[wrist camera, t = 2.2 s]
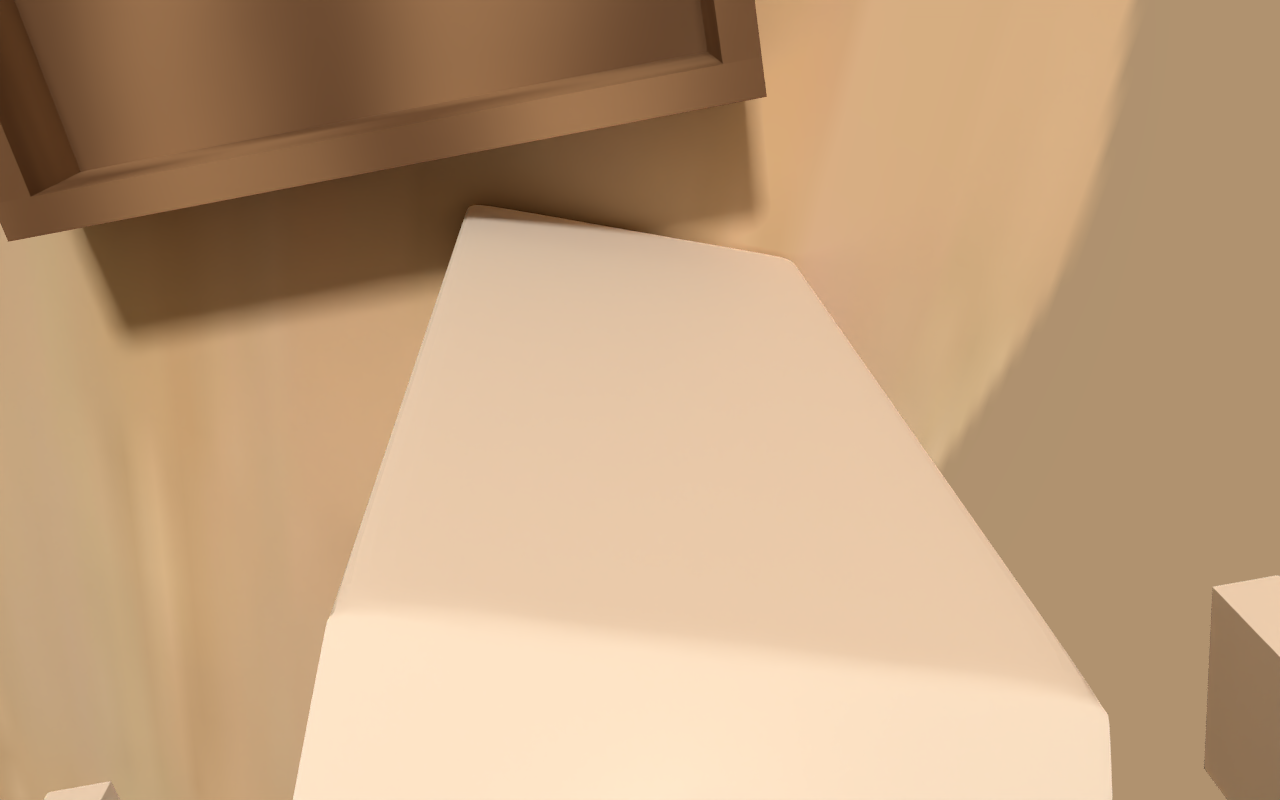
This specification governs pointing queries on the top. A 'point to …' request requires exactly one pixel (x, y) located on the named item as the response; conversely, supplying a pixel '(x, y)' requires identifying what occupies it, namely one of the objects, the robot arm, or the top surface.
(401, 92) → the tray
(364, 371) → the top surface
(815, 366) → the milk carton
